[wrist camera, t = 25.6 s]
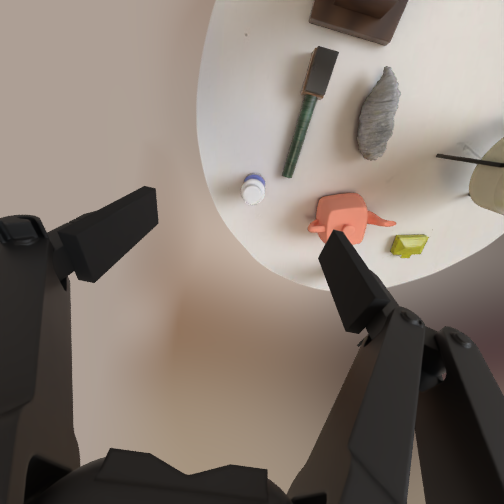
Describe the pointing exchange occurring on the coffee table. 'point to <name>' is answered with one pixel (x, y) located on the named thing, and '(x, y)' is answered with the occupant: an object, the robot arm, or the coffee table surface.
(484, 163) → the planter
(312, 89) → the brush
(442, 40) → the coffee table surface
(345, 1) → the stand
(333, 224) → the teapot
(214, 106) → the coffee table surface
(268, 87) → the coffee table surface
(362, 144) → the seashell
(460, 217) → the coffee table surface
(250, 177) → the pill bottle
